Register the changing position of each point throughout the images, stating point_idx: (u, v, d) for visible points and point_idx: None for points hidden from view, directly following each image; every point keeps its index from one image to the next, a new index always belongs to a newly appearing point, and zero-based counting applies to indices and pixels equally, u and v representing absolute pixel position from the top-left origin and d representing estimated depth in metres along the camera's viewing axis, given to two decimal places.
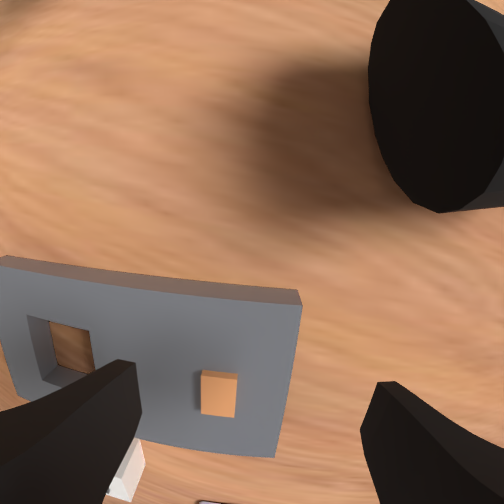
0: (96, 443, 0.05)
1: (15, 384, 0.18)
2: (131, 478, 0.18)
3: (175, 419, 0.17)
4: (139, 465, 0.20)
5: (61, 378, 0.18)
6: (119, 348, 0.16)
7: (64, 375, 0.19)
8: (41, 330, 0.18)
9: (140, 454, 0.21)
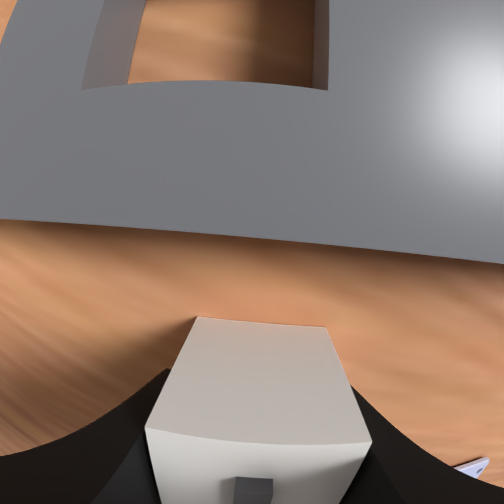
0: None
1: None
2: None
3: None
4: None
5: None
6: None
7: None
8: None
9: None
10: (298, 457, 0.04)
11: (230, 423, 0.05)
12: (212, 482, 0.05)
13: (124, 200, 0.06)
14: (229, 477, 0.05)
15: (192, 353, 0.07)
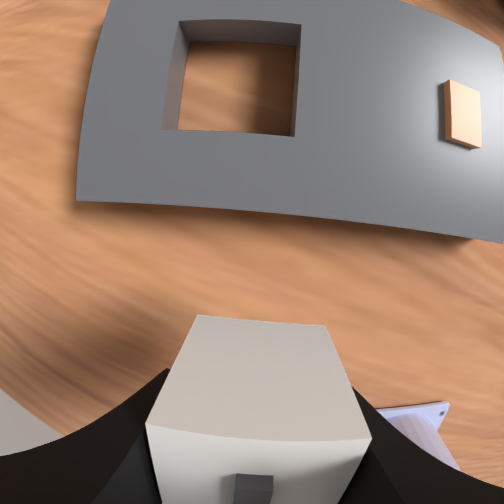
0: None
1: (81, 172, 0.12)
2: None
3: (412, 162, 0.12)
4: None
5: None
6: (345, 46, 0.11)
7: None
8: (179, 63, 0.12)
9: None
10: (298, 453, 0.04)
11: (230, 420, 0.05)
12: (212, 479, 0.05)
13: (189, 192, 0.12)
14: (230, 474, 0.05)
15: (192, 351, 0.07)
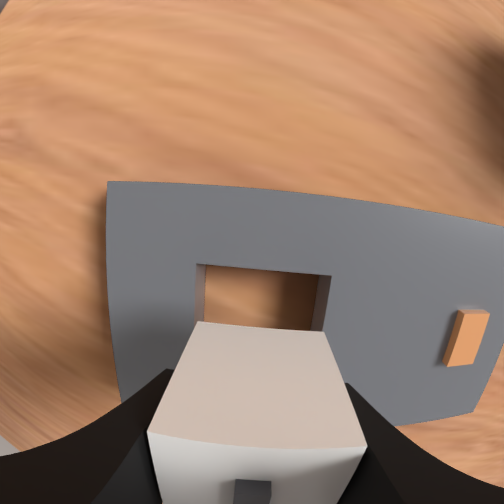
0: None
1: (123, 390, 0.14)
2: None
3: (406, 386, 0.13)
4: None
5: None
6: (372, 297, 0.13)
7: None
8: (200, 294, 0.14)
9: None
10: (295, 460, 0.05)
11: (229, 427, 0.05)
12: (212, 484, 0.05)
13: None
14: (229, 479, 0.05)
15: (193, 358, 0.07)
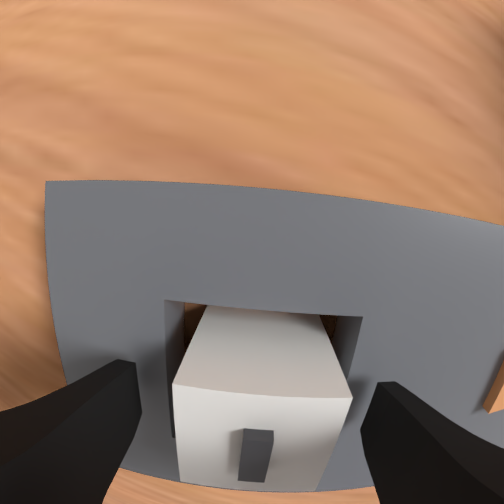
0: (96, 443, 0.05)
1: None
2: None
3: None
4: None
5: None
6: (415, 342, 0.08)
7: None
8: (176, 335, 0.10)
9: None
10: (293, 409, 0.06)
11: (239, 381, 0.07)
12: (223, 435, 0.06)
13: None
14: (238, 429, 0.06)
15: (206, 331, 0.09)
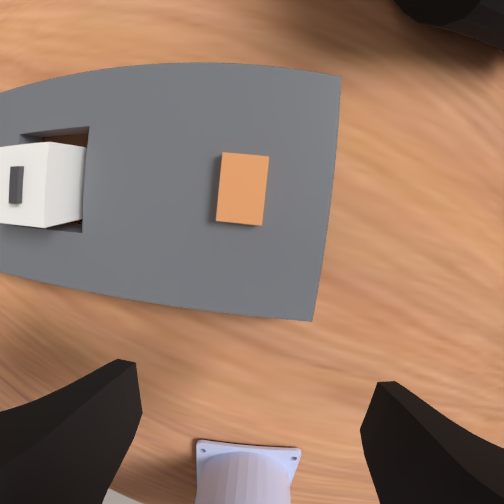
0: (96, 443, 0.05)
1: None
2: (63, 183, 0.13)
3: (178, 247, 0.14)
4: None
5: None
6: (121, 140, 0.13)
7: None
8: None
9: None
10: (30, 150, 0.11)
11: None
12: (9, 173, 0.11)
13: (32, 271, 0.15)
14: (14, 168, 0.11)
15: None
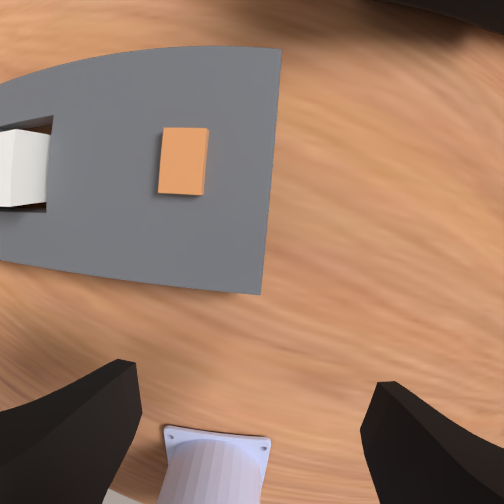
0: (96, 443, 0.05)
1: None
2: (29, 167, 0.13)
3: (127, 221, 0.14)
4: None
5: (12, 209, 0.15)
6: (79, 125, 0.13)
7: (16, 209, 0.16)
8: None
9: None
10: (0, 138, 0.11)
11: None
12: None
13: (5, 252, 0.15)
14: None
15: None
